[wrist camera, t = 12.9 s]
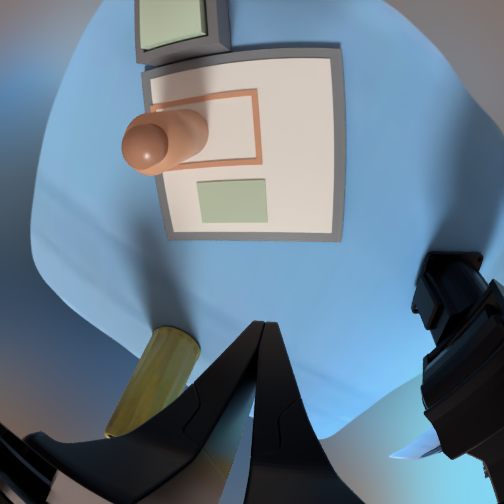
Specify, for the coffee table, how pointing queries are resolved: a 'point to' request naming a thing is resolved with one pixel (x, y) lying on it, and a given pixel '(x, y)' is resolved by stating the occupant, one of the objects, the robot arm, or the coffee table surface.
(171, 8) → the button
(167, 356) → the vase
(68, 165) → the coffee table surface
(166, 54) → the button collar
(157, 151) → the tan domed peg
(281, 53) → the tray
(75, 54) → the coffee table surface
